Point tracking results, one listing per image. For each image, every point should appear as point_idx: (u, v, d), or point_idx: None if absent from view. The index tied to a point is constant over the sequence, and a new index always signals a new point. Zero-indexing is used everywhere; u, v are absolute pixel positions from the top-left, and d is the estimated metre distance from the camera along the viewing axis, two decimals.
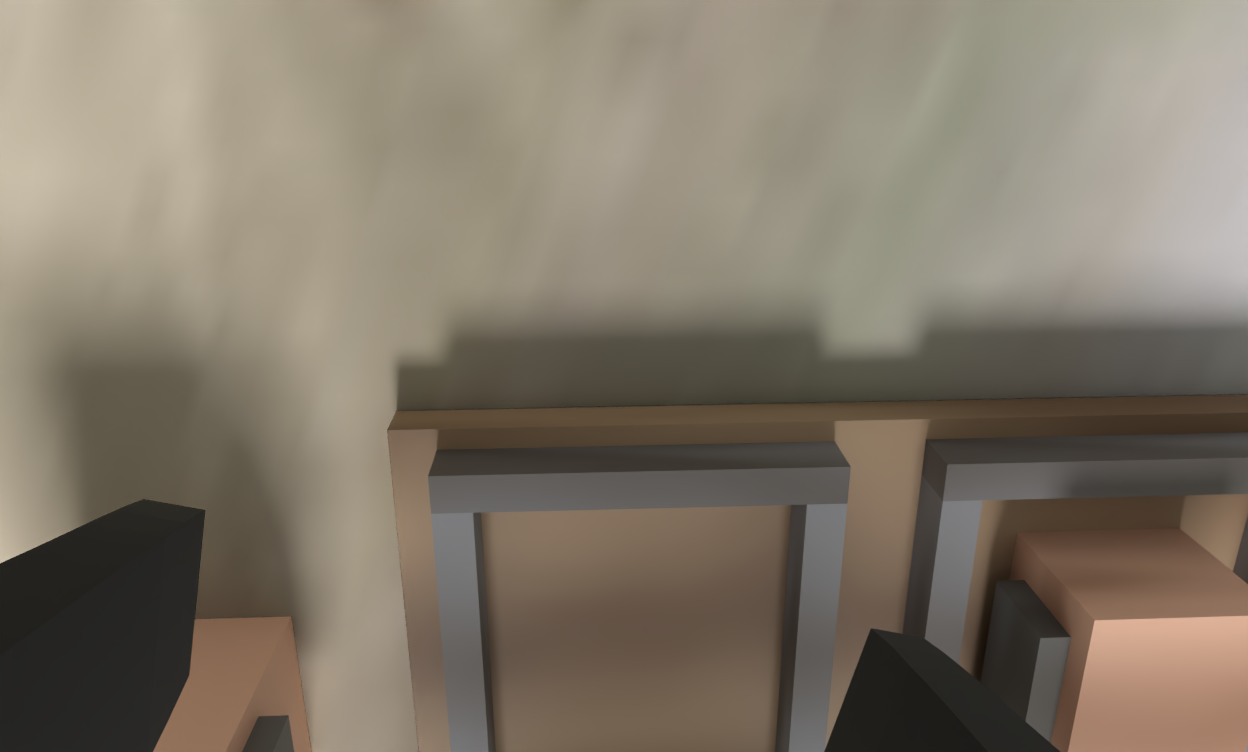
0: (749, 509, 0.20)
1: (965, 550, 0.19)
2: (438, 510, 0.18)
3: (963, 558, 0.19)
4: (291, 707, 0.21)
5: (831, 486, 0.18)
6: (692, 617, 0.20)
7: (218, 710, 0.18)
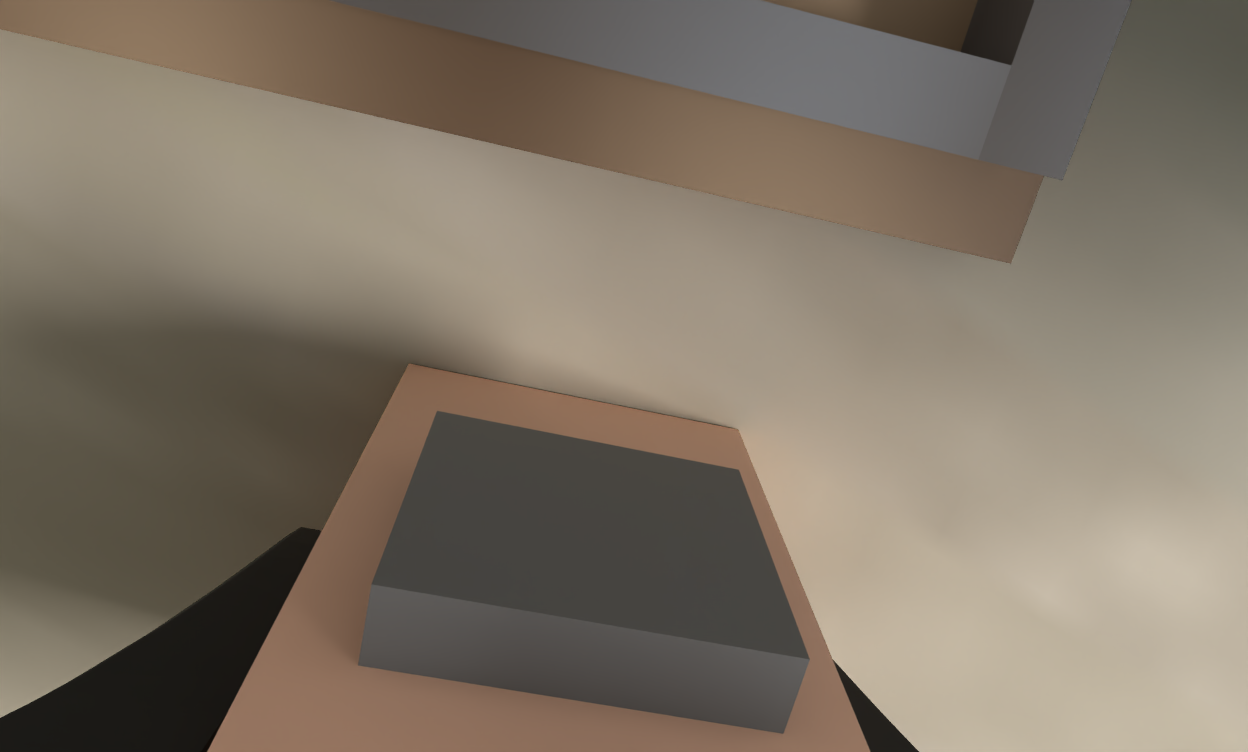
0: None
1: None
2: None
3: None
4: (563, 421, 0.10)
5: None
6: None
7: None
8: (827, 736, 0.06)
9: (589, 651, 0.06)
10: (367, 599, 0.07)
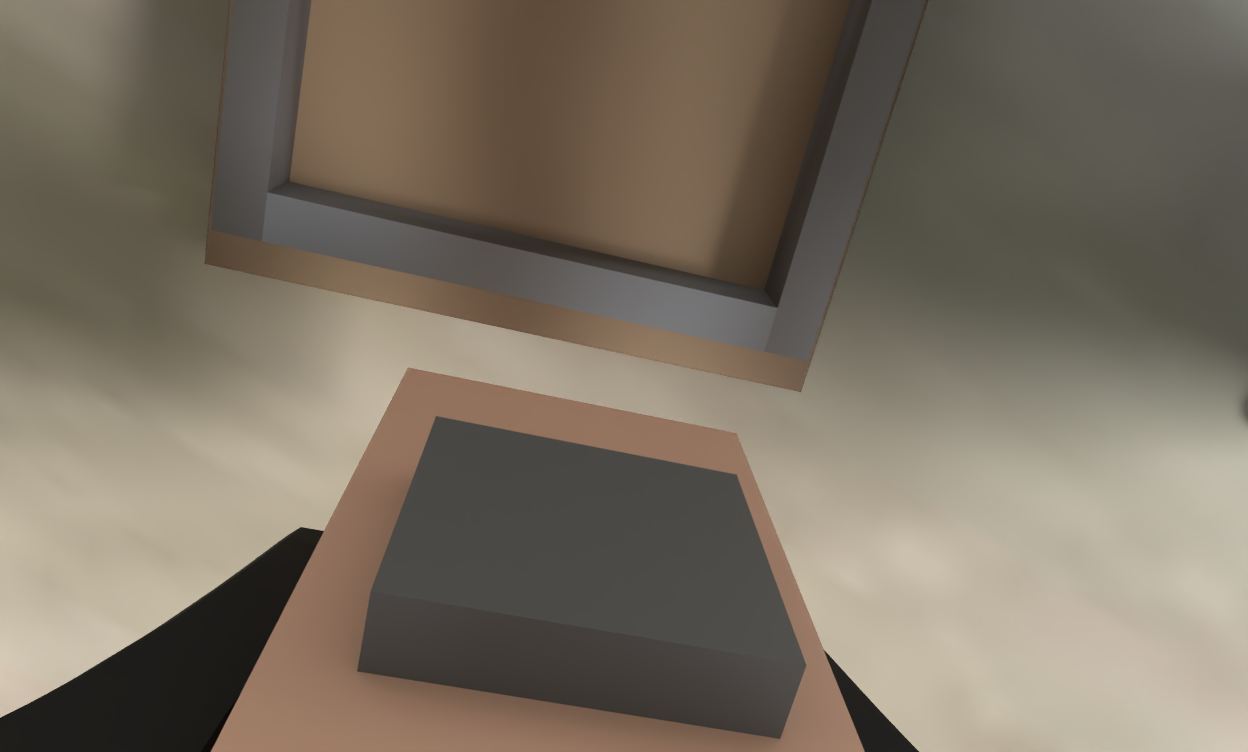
0: None
1: None
2: (265, 232, 0.15)
3: None
4: (562, 425, 0.10)
5: None
6: None
7: None
8: (824, 741, 0.06)
9: (587, 657, 0.06)
10: (367, 605, 0.07)
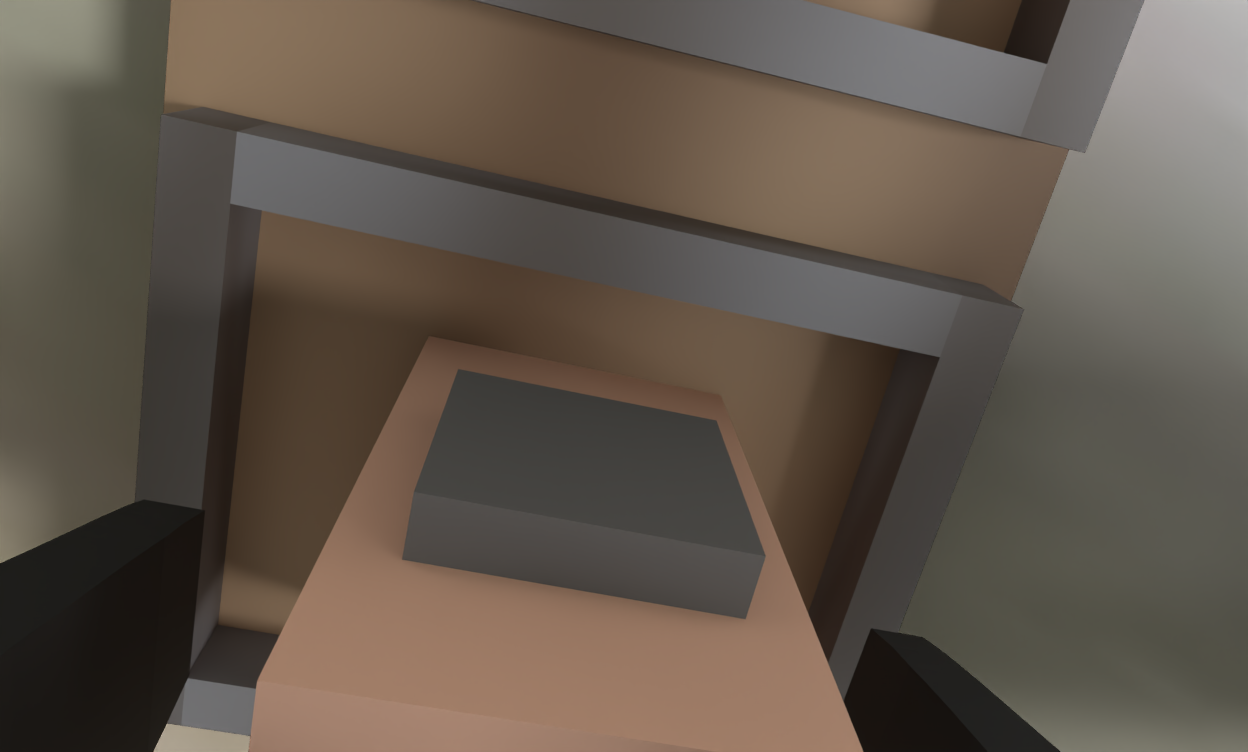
0: (315, 268, 0.12)
1: None
2: (185, 712, 0.13)
3: None
4: (565, 385, 0.12)
5: (198, 154, 0.10)
6: None
7: None
8: (781, 622, 0.08)
9: (588, 548, 0.07)
10: (406, 514, 0.08)
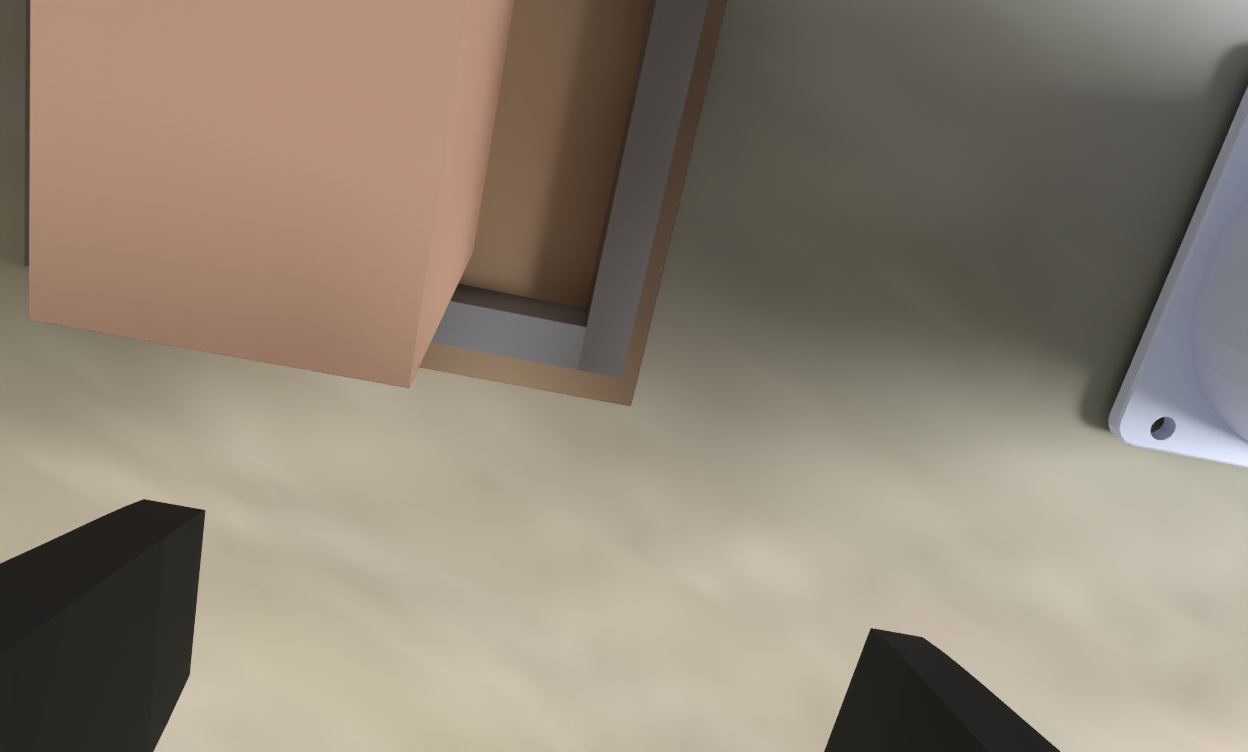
0: None
1: None
2: None
3: None
4: None
5: None
6: None
7: None
8: None
9: None
10: None
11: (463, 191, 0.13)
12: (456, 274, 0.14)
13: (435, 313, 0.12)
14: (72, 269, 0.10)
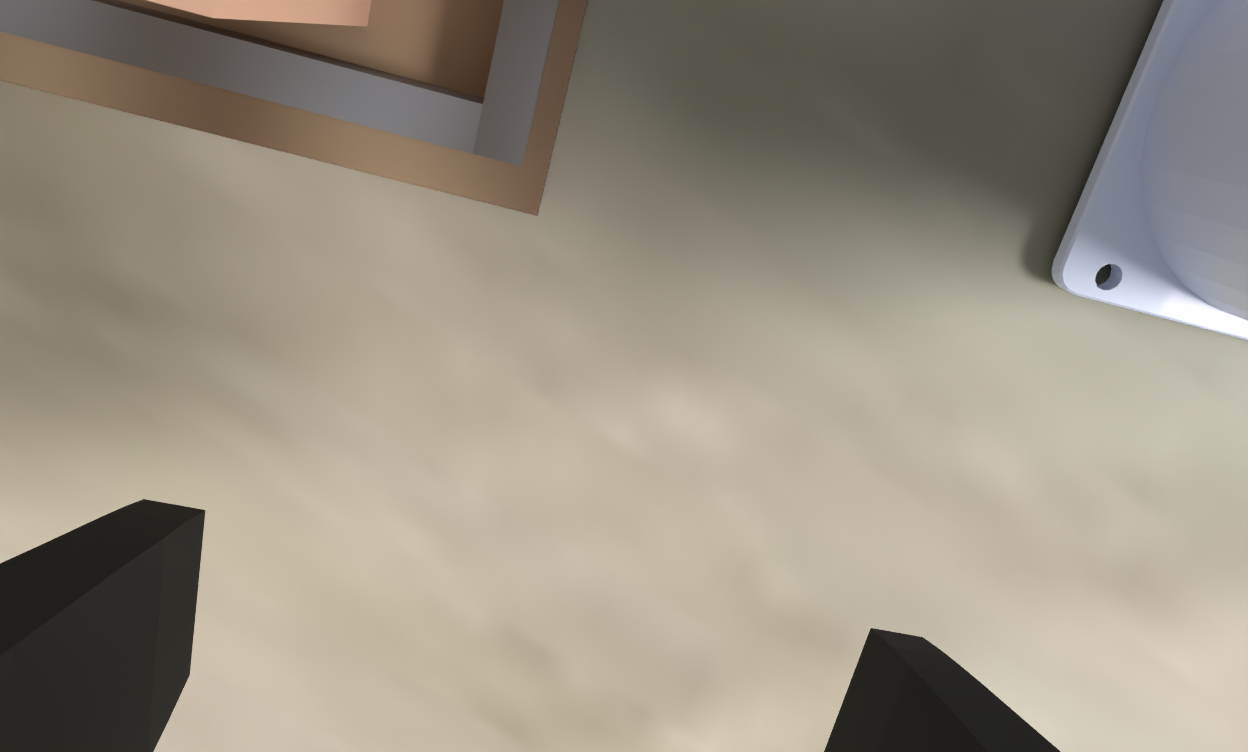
0: None
1: None
2: None
3: None
4: None
5: None
6: None
7: None
8: None
9: None
10: None
11: None
12: (324, 0, 0.13)
13: None
14: None
